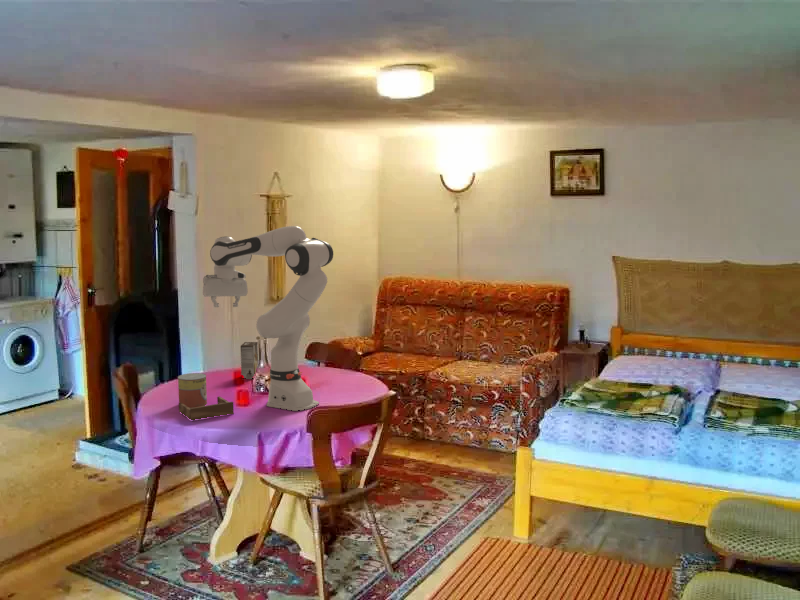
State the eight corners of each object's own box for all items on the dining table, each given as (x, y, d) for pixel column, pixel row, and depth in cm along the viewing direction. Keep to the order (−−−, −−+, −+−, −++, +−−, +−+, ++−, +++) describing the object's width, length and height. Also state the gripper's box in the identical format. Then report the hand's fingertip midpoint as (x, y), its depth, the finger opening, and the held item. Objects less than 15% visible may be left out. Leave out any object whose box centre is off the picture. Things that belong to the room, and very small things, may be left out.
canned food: (202, 408, 308) (201, 379, 306) (174, 408, 308) (173, 379, 307) (210, 401, 319) (209, 373, 317) (184, 400, 319) (183, 372, 318)
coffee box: (245, 374, 366) (244, 341, 363) (258, 374, 365) (257, 341, 363) (241, 379, 356) (240, 345, 354) (254, 379, 356) (253, 345, 354)
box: (179, 412, 302) (178, 400, 301) (220, 405, 312) (219, 394, 311) (191, 421, 290) (191, 408, 290) (233, 414, 300) (233, 402, 299)
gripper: (207, 274, 317) (208, 307, 316) (248, 274, 331) (250, 306, 331) (199, 275, 321) (200, 307, 321) (241, 275, 335) (242, 306, 335)
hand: (226, 307), depth 326 cm, fingers open, 8 cm apart
